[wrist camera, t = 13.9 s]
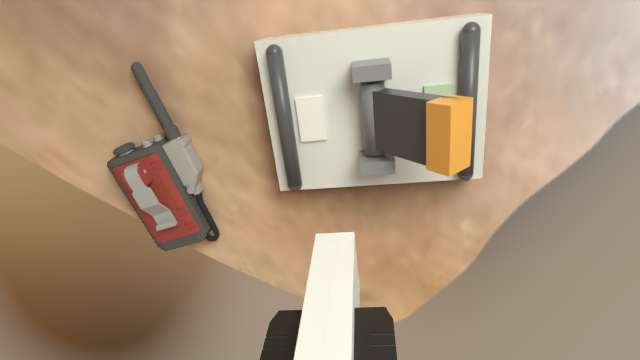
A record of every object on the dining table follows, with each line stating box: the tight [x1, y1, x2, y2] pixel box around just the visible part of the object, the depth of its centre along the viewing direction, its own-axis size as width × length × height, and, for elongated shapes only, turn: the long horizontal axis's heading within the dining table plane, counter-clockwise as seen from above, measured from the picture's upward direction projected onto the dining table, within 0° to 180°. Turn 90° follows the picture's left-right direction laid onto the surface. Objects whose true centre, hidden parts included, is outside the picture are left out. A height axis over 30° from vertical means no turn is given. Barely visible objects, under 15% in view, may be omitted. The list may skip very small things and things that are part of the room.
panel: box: [254, 12, 492, 191], centre depth 35 cm, size 14×19×6 cm
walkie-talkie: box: [107, 62, 219, 251], centre depth 41 cm, size 9×4×20 cm
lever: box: [360, 80, 473, 177], centre depth 31 cm, size 6×2×10 cm
